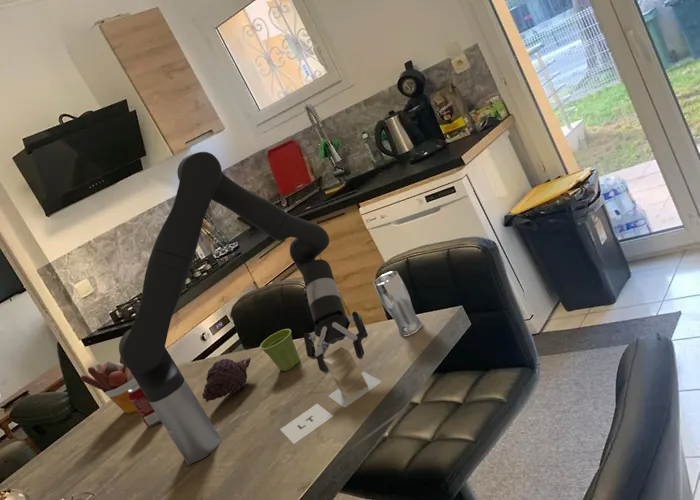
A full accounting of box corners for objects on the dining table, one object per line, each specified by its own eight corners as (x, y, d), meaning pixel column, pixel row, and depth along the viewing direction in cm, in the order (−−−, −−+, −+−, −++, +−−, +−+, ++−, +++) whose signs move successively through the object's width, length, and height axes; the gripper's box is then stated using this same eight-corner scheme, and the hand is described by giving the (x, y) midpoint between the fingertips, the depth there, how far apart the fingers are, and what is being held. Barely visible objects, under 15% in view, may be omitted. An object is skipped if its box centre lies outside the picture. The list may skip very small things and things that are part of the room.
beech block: (349, 398, 145) (330, 364, 142) (341, 392, 149) (322, 359, 147) (367, 385, 146) (349, 351, 144) (359, 379, 151) (341, 346, 149)
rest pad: (345, 409, 141) (344, 407, 141) (328, 397, 151) (328, 395, 151) (382, 383, 144) (382, 381, 144) (364, 372, 154) (363, 371, 154)
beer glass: (423, 318, 166) (398, 267, 163) (425, 330, 160) (398, 276, 156) (398, 329, 168) (372, 279, 164) (398, 341, 161) (371, 288, 157)
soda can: (163, 423, 185) (140, 388, 182) (143, 431, 187) (121, 396, 184) (172, 410, 192) (151, 376, 189) (154, 417, 193) (132, 383, 191)
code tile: (294, 445, 137) (293, 443, 137) (280, 430, 147) (279, 429, 147) (334, 417, 140) (333, 415, 140) (318, 404, 150) (317, 403, 150)
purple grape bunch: (222, 413, 172) (203, 382, 169) (201, 413, 178) (182, 383, 176) (266, 372, 184) (249, 342, 181) (245, 374, 191) (228, 345, 188)
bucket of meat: (144, 389, 223) (113, 340, 218) (177, 381, 214) (145, 330, 210) (103, 427, 207) (68, 375, 202) (136, 420, 198) (101, 365, 193)
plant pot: (304, 365, 175) (289, 338, 173) (273, 379, 176) (257, 352, 174) (306, 351, 184) (292, 324, 182) (276, 365, 185) (261, 339, 183)
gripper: (291, 308, 153) (307, 373, 145) (346, 284, 150) (366, 348, 142) (305, 318, 160) (321, 381, 151) (358, 295, 157) (377, 357, 148)
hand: (343, 365), depth 147 cm, fingers open, 8 cm apart
